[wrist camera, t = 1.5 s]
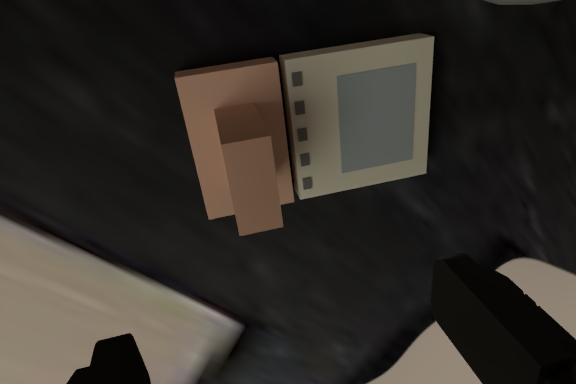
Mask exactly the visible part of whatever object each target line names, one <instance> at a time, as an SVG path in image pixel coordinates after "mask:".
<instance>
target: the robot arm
mask: <svg viewBox="0 0 576 384" xmlns="http://www.w3.org/2000/svg"><path fill="white" fill-rule="evenodd" d="M431 308H432V312H433V315H434V317H435V319H436V321H437V323H438V324H439V326H440V327H441V328H442V330H443V331H444V332H445V334H446V335H447V336H448V338H449V339H450V340H451V342H452V343H453V344H454V346H455V347H456V349H457V350H458V351H459V352H460V354H461V355H462V357H463V358H464V359H465V361H466V362H467V363H468V365H469V366H470V367H471V369H472V370H473V371H474V373H475V374H476V376H477V377H478V378H479V379H480V381H481V382H482V384H576V340H575V338H574V337H572V336H571V335H570V334H569V333H568V332H567V331H566V330H565V329H564V328H563V327H562V326H560V325H559V324H558V323H557V322H556V321H555V320H554V319H553V318H552V317H551V316H549V315H548V314H547V313H546V312H545V311H544V310H543V309H542V308H541V307H540V306H537V305H536V303H535V302H534V301H533V300H532V299H531V298H530V297H529V296H528V295H527V294H525V295H524V293H523V291H522V290H521V289H520V288H519V287H518V286H517V285H516V284H515V283H513V282H512V281H511V280H510V279H509V278H508V277H506V276H504V275H503V274H501V273H499V272H497V271H495V270H493V269H491V268H489V267H485V268H481V267H480V266H479V265H478V264H477V263H476V262H474V261H473V260H472V259H471V258H470V257H469V256H468V255H467V254H465V253H459V254H455V255H451V256H447V257H443V258H439V259H436V260H435V261H434V265H433V276H432V289H431ZM67 384H151V382H150V377H149V374H148V371H147V369H146V366H145V364H144V361H143V359H142V357H141V354H140V352H139V349H138V347H137V345H136V342H135V340H134V337H133V336H132V334H130V333H128V334H124V335H120V336H116V337H112V338H108V339H104V340H100V341H97V343H96V344H95V347H94V351H93V355H92V359H91V364H90V366H89V367H85V368H81V369H77V370H76V371H75V372H74V374H73V375H72V376H71V378H70V379H69V381H68V382H67Z"/></svg>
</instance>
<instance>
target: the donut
mask: <svg viewBox="0 0 576 384" xmlns="http://www.w3.org/2000/svg"><path fill="white" fill-rule="evenodd" d="M484 1H488V2H491V3H495V4H499V5H526V4H539V3H546V2H552V1H559V0H484Z"/></svg>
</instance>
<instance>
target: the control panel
mask: <svg viewBox="0 0 576 384" xmlns="http://www.w3.org/2000/svg"><path fill="white" fill-rule="evenodd" d="M433 49H434V36H430V35H426V34H422V33H417V34H411V35H405V36H398V37H392V38H385V39H379V40H373V41H366V42H360V43H354V44H347V45H341V46H334V47H328V48H322V49H315V50H309V51H303V52H296V53H290V54H284V55H279V59H280V68H281V76H282V85H283V94H284V102H285V111H286V119H287V128H288V137H289V145H290V154H291V162H292V171H293V179H294V188H295V190H296V192H297V194H298V196H299V198H300V200H301V199H306V198H311V197H315V196H320V195H325V194H330V193H335V192H339V191H344V190H349V189H354V188H359V187H363V186H368V185H373V184H378V183H383V182H387V181H392V180H397V179H402V178H407V177H411V176H416V175H421V174H426V167H427V151H428V134H429V117H430V100H431V83H432V66H433Z"/></svg>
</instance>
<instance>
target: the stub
mask: <svg viewBox="0 0 576 384" xmlns="http://www.w3.org/2000/svg"><path fill="white" fill-rule="evenodd" d="M175 82H176V86H177V90H178V94H179V98H180V102H181V107H182V111H183V115H184V119H185V123H186V127H187V131H188V135H189V140H190V144H191V148H192V152H193V156H194V160H195V164H196V169H197V173H198V177H199V181H200V185H201V189H202V193H203V197H204V202H205V206H206V210H207V214H208V218H209V220H210V219H214V218H219V217H224V216H229V215H233V214H235V216H236V221H237V225H238V230H239V235H240V236H243V235H247V234H252V233H257V232H261V231H266V230H270V229H275V228H280V227H283V220H282V213H281V206H280V205H281V204H286V203H291V202H294V196H293V188H292V179H291V171H290V162H289V154H288V146H287V137H286V129H285V120H284V112H283V104H282V95H281V87H280V78H279V70H278V62H277V61H276V60H275V59H274V58H273V57H267V58H260V59H254V60H248V61H241V62H235V63H229V64H222V65H216V66H209V67H203V68H197V69H190V70H184V71H178V72H175Z"/></svg>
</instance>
